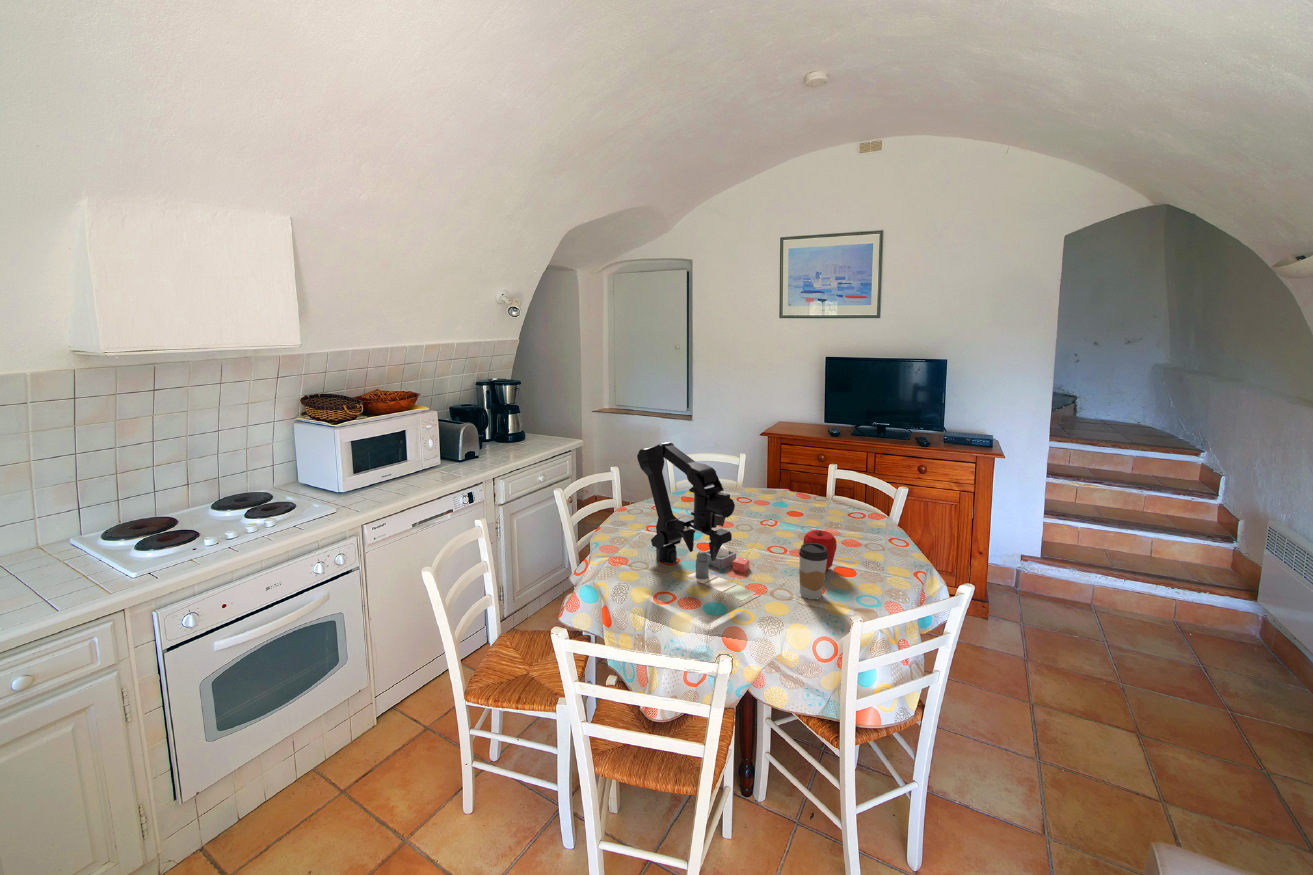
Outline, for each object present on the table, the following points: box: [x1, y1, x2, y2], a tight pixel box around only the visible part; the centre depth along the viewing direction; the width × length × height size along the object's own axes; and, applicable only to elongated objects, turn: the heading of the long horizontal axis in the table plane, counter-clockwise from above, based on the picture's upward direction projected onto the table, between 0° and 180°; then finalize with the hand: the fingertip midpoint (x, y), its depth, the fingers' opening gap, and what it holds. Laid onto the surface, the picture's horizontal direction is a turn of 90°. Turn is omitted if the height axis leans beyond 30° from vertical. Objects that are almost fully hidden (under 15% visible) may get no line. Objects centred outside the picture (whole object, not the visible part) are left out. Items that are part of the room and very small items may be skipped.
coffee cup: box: [798, 543, 828, 600], centre depth 177 cm, size 8×8×15 cm
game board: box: [686, 571, 762, 608], centre depth 183 cm, size 23×10×1 cm, turn 44°
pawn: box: [695, 550, 710, 579], centre depth 187 cm, size 4×4×8 cm
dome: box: [716, 545, 729, 558], centre depth 198 cm, size 6×6×6 cm
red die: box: [732, 556, 750, 573], centre depth 193 cm, size 4×4×4 cm
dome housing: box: [705, 549, 737, 570], centre depth 198 cm, size 8×8×4 cm
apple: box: [802, 529, 838, 571], centre depth 194 cm, size 11×10×14 cm
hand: (702, 555), depth 187 cm, fingers open, 9 cm apart
